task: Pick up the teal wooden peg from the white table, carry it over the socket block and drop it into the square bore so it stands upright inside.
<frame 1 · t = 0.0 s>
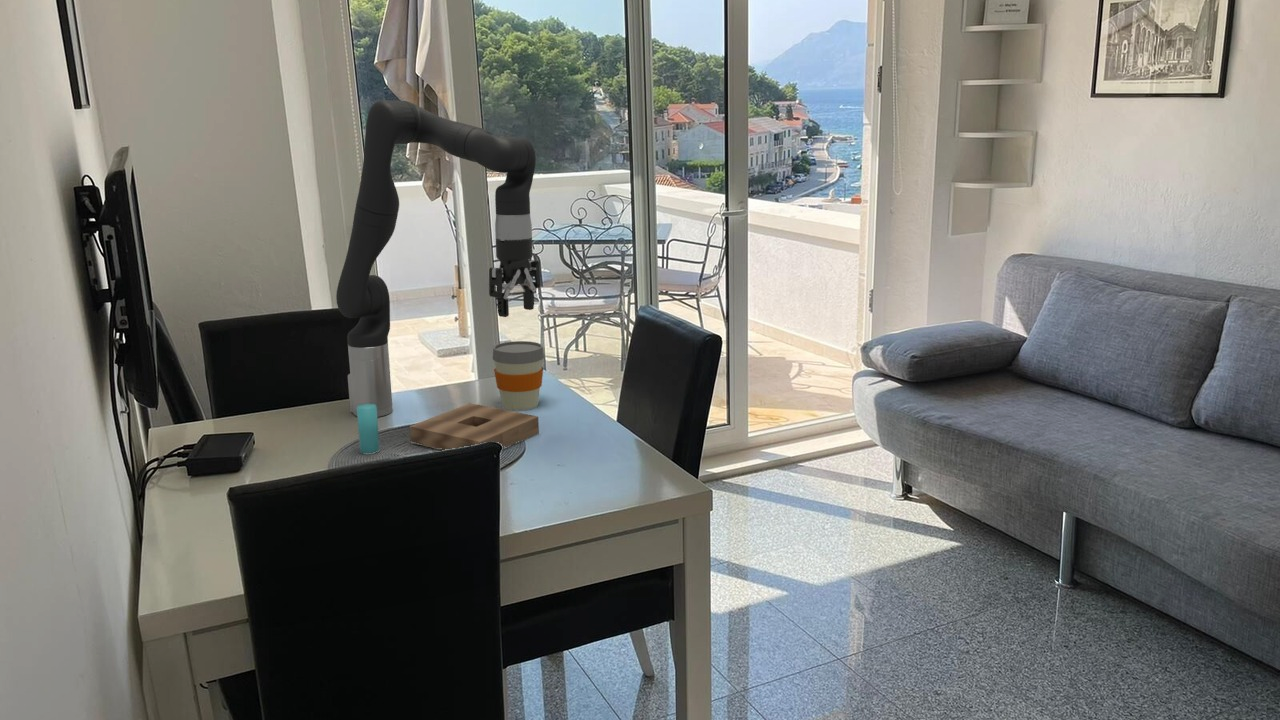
hand: (516, 312, 195), 29 cm above the table, tool pointing down, fingers open, 8 cm apart
socket block: (475, 438, 206), on the table
peg: (370, 451, 198), on the table
reusable coffee cup: (520, 405, 230), on the table
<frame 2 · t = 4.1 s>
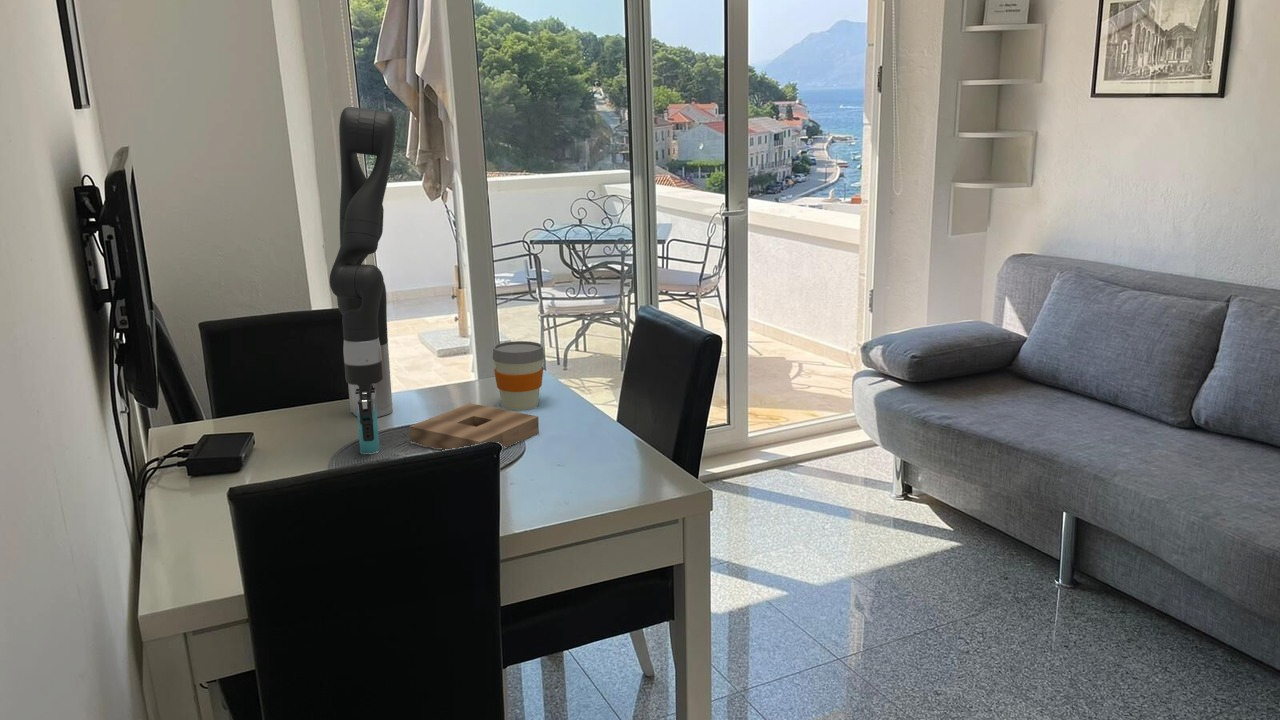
hand: (369, 436, 197), 3 cm above the table, tool pointing down, fingers closed on peg, 4 cm apart
peg: (370, 451, 198), on the table, touching gripper
everything else where it was.
when the fingers open (5 cm above the table, at t = 9.9 s): peg drops 2 cm, resting in socket block.
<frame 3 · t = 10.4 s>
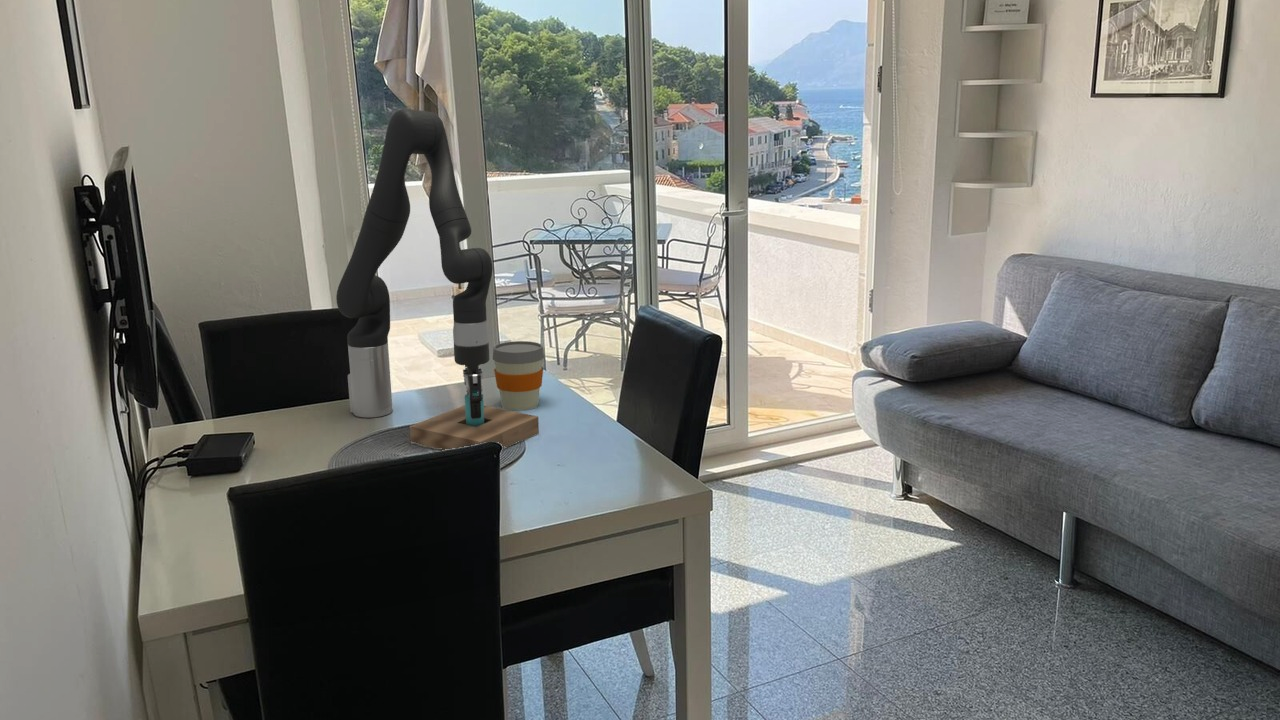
hand: (474, 412, 204), 6 cm above the table, tool pointing down, fingers open, 8 cm apart
peg: (475, 438, 206), resting in socket block
everything else where it was.
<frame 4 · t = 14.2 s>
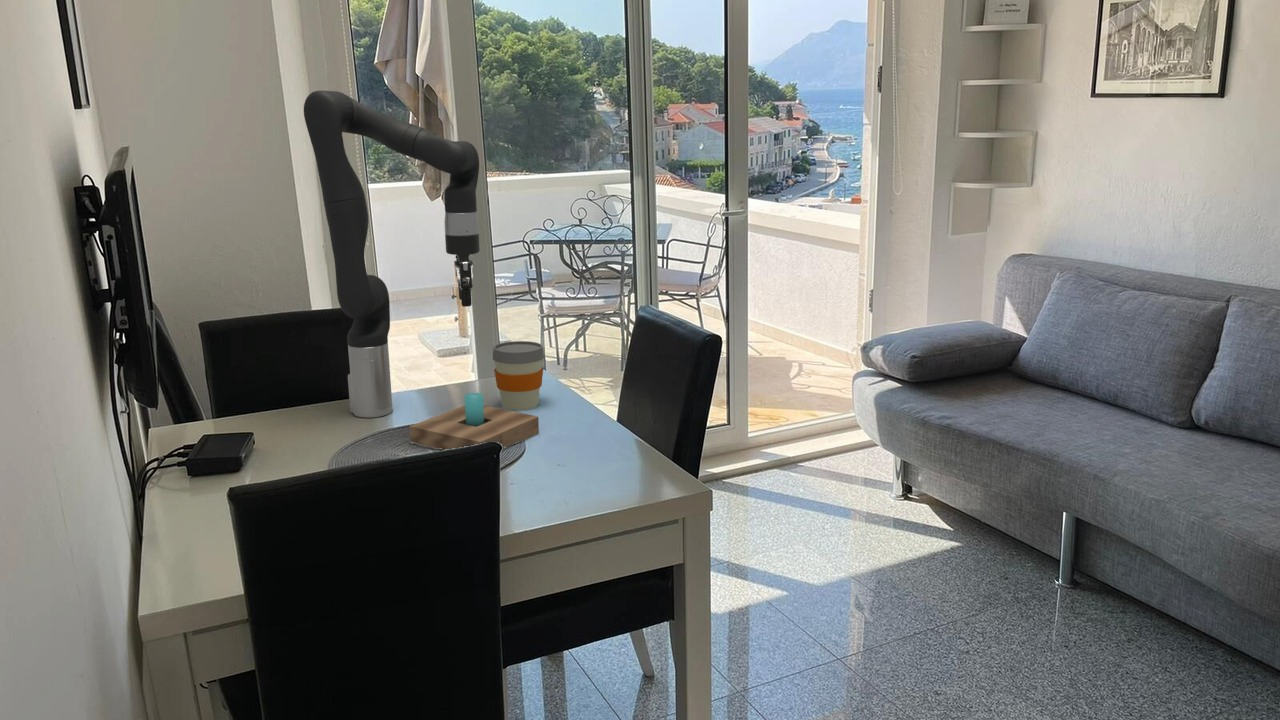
hand: (465, 302, 212), 28 cm above the table, tool pointing down, fingers open, 8 cm apart
nothing on the table moved.
at the end: peg 0.0 cm off-centre on the socket block, point 0.0 cm above the socket block's base; peg tilted 0°; the gripper is holding nothing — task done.
